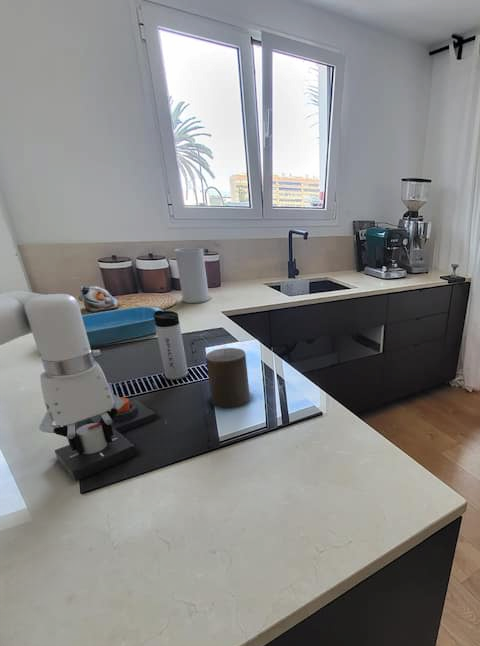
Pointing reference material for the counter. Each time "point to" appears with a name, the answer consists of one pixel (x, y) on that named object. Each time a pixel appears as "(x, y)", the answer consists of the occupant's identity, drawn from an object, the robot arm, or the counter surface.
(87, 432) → the timer dial
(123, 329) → the casserole dish
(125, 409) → the button
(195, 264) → the cylinder vase
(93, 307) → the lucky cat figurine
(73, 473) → the panel
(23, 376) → the counter surface
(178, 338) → the travel mug
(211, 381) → the pillar candle
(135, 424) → the block
